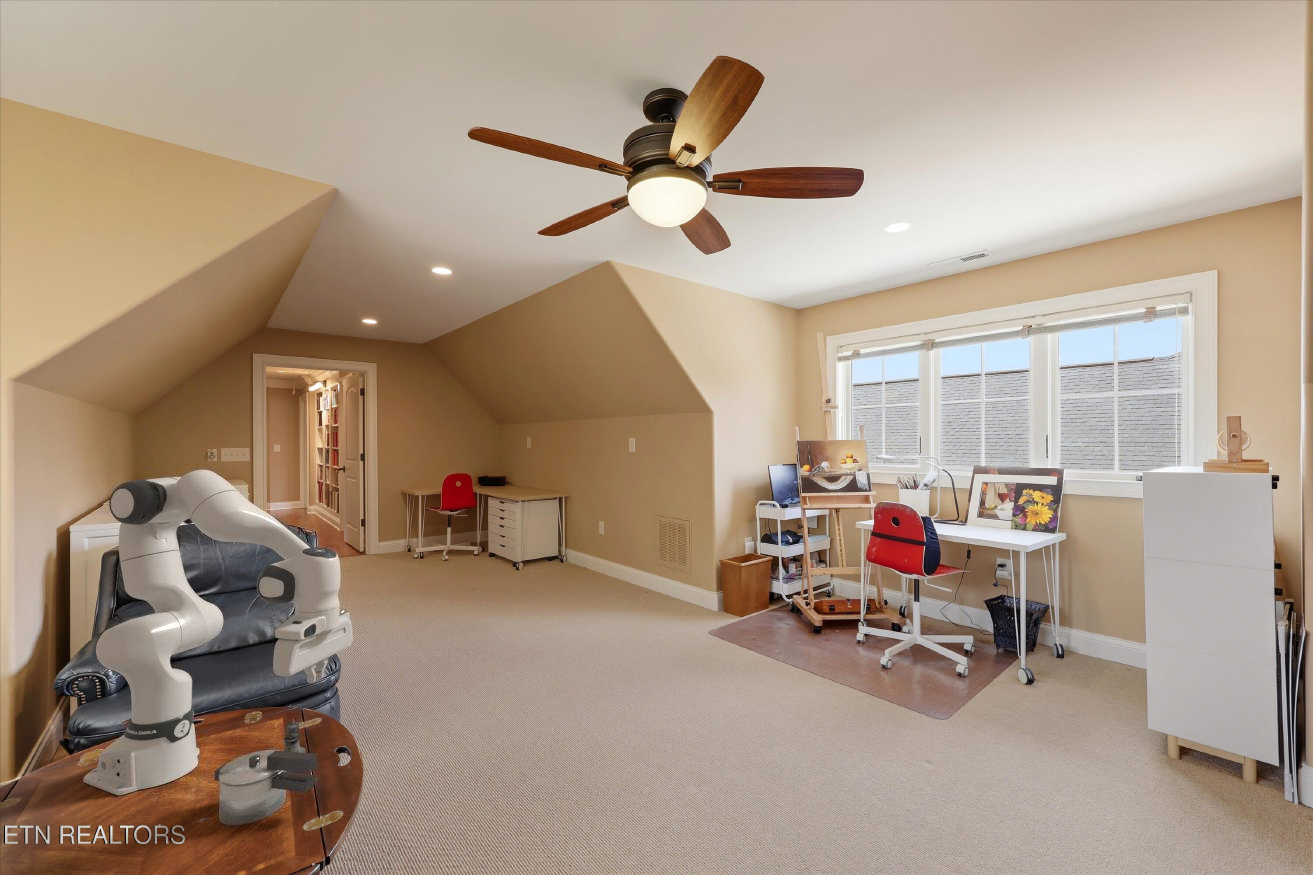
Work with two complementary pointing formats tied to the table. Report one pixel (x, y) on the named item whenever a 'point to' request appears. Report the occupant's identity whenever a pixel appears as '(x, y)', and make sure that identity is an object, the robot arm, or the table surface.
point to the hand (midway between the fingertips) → (315, 680)
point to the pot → (258, 796)
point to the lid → (265, 766)
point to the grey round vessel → (293, 739)
